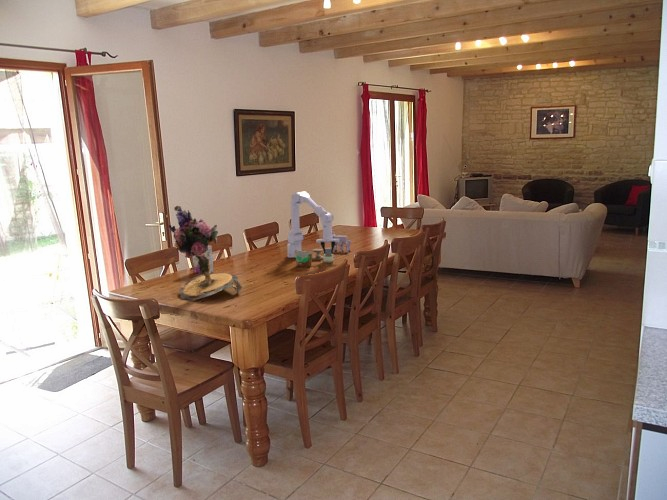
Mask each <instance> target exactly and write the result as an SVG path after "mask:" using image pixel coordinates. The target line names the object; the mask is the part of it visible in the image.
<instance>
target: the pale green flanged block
mask: <svg viewBox="0 0 667 500" xmlns="http://www.w3.org/2000/svg"><path fill="white" fill-rule="evenodd" d="M323 256H324V259H323V263H334V253H333V254H332V256H330V257H325V254H323Z"/></svg>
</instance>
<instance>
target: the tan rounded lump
mask: <svg viewBox="0 0 667 500" xmlns="http://www.w3.org/2000/svg"><path fill="white" fill-rule="evenodd" d="M312 252H313V253H314V255H315V256H312V260H315V261H321V260H324V255H322V254H321V253H324V251H323V248H315V249H314V248H313V249H312Z"/></svg>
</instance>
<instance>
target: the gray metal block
mask: <svg viewBox="0 0 667 500" xmlns="http://www.w3.org/2000/svg"><path fill="white" fill-rule="evenodd" d="M331 250H332V248H331V247H325V257H330V256H332V254H331Z"/></svg>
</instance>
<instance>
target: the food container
mask: <svg viewBox="0 0 667 500" xmlns="http://www.w3.org/2000/svg"><path fill="white" fill-rule="evenodd" d="M313 253H314V252H313V249H312V250H308V251H307V250H302V251H297V250H296V249H295V252H294V254H295V255H296V257H295V261H296V266H297V267H298V268H309V267H312V260H313V259H312V257H313V256H312V255H313Z"/></svg>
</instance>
